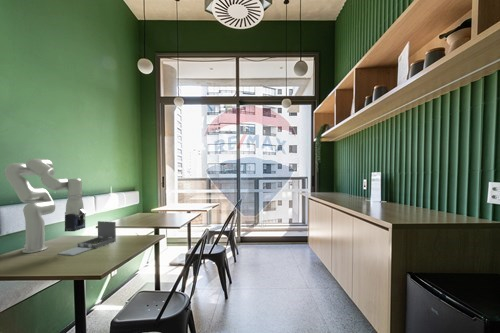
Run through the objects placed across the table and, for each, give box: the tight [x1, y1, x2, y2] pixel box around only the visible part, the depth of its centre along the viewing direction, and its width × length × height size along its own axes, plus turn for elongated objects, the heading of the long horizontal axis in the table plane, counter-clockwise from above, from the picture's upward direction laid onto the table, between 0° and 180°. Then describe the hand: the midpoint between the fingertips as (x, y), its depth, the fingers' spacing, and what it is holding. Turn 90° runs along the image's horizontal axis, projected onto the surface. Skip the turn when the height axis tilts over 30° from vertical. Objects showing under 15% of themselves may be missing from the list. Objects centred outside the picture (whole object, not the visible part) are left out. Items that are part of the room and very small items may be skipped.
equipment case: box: [77, 220, 117, 249], centre depth 173 cm, size 15×18×14 cm
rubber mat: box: [57, 246, 94, 257], centre depth 158 cm, size 13×13×1 cm
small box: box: [64, 214, 86, 232], centre depth 158 cm, size 11×6×10 cm, turn 179°
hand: (75, 225), depth 158 cm, fingers closed on small box, 7 cm apart
